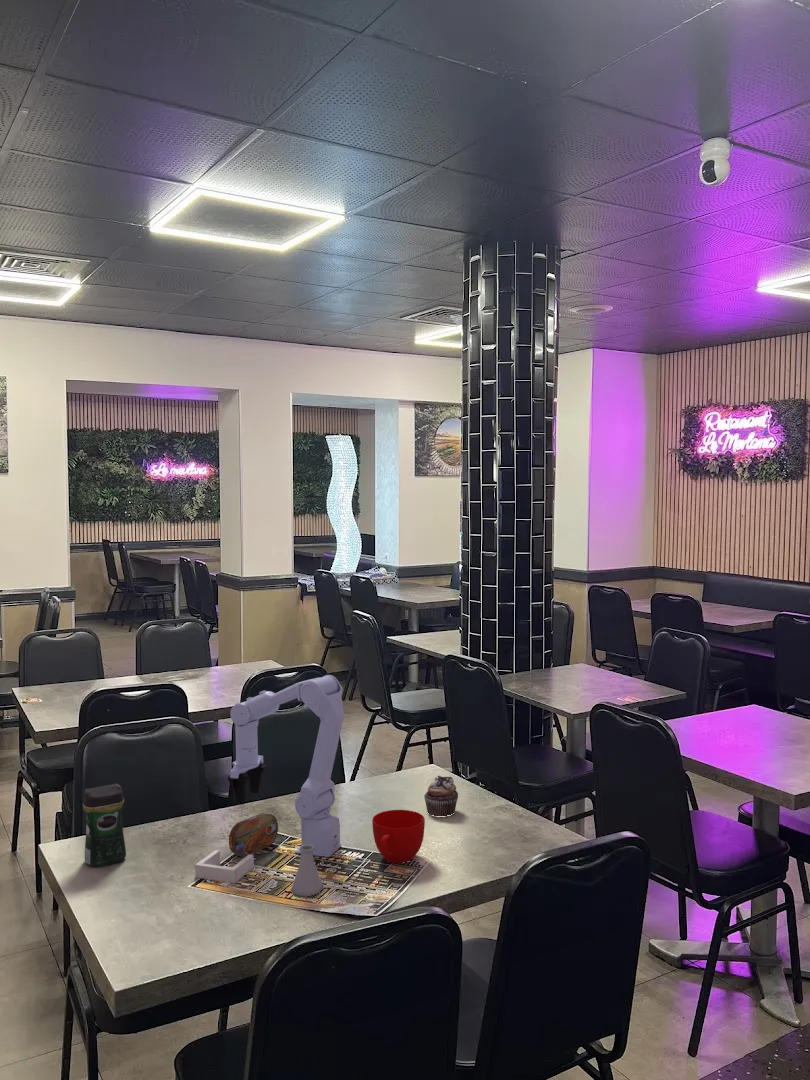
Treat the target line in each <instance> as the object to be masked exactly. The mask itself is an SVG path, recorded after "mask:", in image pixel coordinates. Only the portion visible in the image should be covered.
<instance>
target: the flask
mask: <svg viewBox="0 0 810 1080" xmlns="http://www.w3.org/2000/svg"><path fill="white" fill-rule="evenodd" d="M300 846H301V845H300ZM300 846H299V847H300ZM299 847H298V848H299ZM313 849H314V846H312V845H307V844H306V845H302V846H301V847H300V848H299V850H300V851H301V854H300V857H299V858H300V859H299V864H298V867H297V871H296V874H295V877H294V880H293V881H292V885H291V889H290V892H291V891H292V892H293V894H294V893H295V894H294V895H296V896H297V895H303V896H302V897H307V896H310V897H312V896H311V895H313V896H315V895H314V894H316V893H319V892H320V891H321V890H322V889H323V890H324V888H325V886H324V884H323V880H322V878H321V876H320V874H319V871H318V869H317V866H316V863H315V859H314V855H313ZM323 887H324V888H323ZM323 890H322V891H323ZM322 891H321V892H322ZM292 892H291V893H292ZM321 892H320V893H321ZM320 893H319V894H320ZM316 895H317V894H316Z"/></svg>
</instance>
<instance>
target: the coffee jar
mask: <svg viewBox="0 0 810 1080" xmlns="http://www.w3.org/2000/svg"><path fill="white" fill-rule="evenodd" d="M82 801H83V802H82V808H83V811H84V813H85V818H86V819H85V821H86V822H85V823H86V824H85V825H86V826H85V827H86V828H85V840H84V841H85V842H84V862H85V864H86V865H87V866H91V867H93V868H95V867H97V868H98V867H103V865H104V866H108V865H112V864H115V863H119V862H122V861H123V860H124V859H126V858H127V857H126V856H127V849H126V841H125V835H124V827H123V818H122V813H123V812H122V811H123V807H124V804H125V798H124V792H123V789H122V786H121V785H120V784H119V783H113V784H107V785H101V786H96V787H91V788H85V789H84V791H83V799H82Z"/></svg>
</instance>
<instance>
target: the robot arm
mask: <svg viewBox="0 0 810 1080" xmlns="http://www.w3.org/2000/svg"><path fill="white" fill-rule="evenodd" d="M343 690H344V688H343V687H342V685H341V683H340V682H339V680H338V679H337V678H336V677H335V676H334V675H332V674H326V675H324V676H322V677H315V678H311V679H307V680H302V681H299V682H296V683H294V684H292V685H290V686H287V687H285V688H284V689H282V690H280V691H278V692H277V691H276V692H273V691H270V690H262V691H259V693H258V695H256V696H253V697H252V696H249V697H247V698H246V699H245V700H246V701H243V702H237V703H235V704H234V705H233V706H232V707H231V709H230V715H229V716H230V719H231V721H232V722H233V724H235V725H234V727H235V731H234V732H235V761H233V762H232V766H233V767H232V769H231V770H230V771H229V772H230V774H229V775H227V781H228V782H229V784H230V785H231V787H232V790H233V792H234V795H235V801H236V803H241V804H242V803H245V802H246V800H247V798H246V797H247V789H248V786H249V791H250V793H251V794H259V792H260V789H261V784H262V779H263V775H264V774H265V772H266V769H267V765H266V764H264V755H259V749H258V748H259V747H258V745H259V743H258V742H259V740H258V739H259V738H258V726H259V722H260V721H259V720H260V719H262V718H264V717H267V716H269V715H271V714H273V713H276V712H277V711H278V710H279V708H280V705H282V704H285V703H287V702H290V701H292V700H296V699H297V701H299V702H303V703H304V704H305V705H306V707H307V708H308V709H309V710H310V711H312V712H313V713H314V714H315V715H316V716H317V717H318V718H319V719H320V723H319V728H318V732H317V736H316V741H315V745H314V749H313V750H314V751H313V756H312V760H311V765H310V768H309V769H310V770H309V773H308V777H307V779H306V780H305V782H304V783H303V784H302V786H301V789H300V792H299V794H298V795H297V796H296V797H295V800H294V807H295V810H296V812H297V814H298V815H299V818H300V829H301V832H300V838H301V841H300V843H301V845H300V846H299V847H298V848H297V849H296V850H295V851H294V852H295V854H300V855H301V851H300V850H299V848H300V847H301V846H302V845H306V844H307V845H312V846H314V849H313V856H315V857H323V856H324V858H330V857H331V856H332V855H334V853H335V852H336V851H337V850H339V849H340V848H341V847H342V843H341V824H340V823H341V822H340V818H339V817H338V816H334V815H332V814H331V813H330V812H331V807H332V806H333V805H334V803H335V799H336V798H335V797H336V796H335V795H336V794H335V783H334V782H333V781H332V780H331V777H332V772H333V768H334V764H335V759H336V755H337V751H338V745H339V741H340V736H341V732H342V728H343V722H344V718H345V713H344V706H343V700H342V696H343ZM244 773H246V774H247V776H245V775H244ZM248 784H249V785H248Z"/></svg>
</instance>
